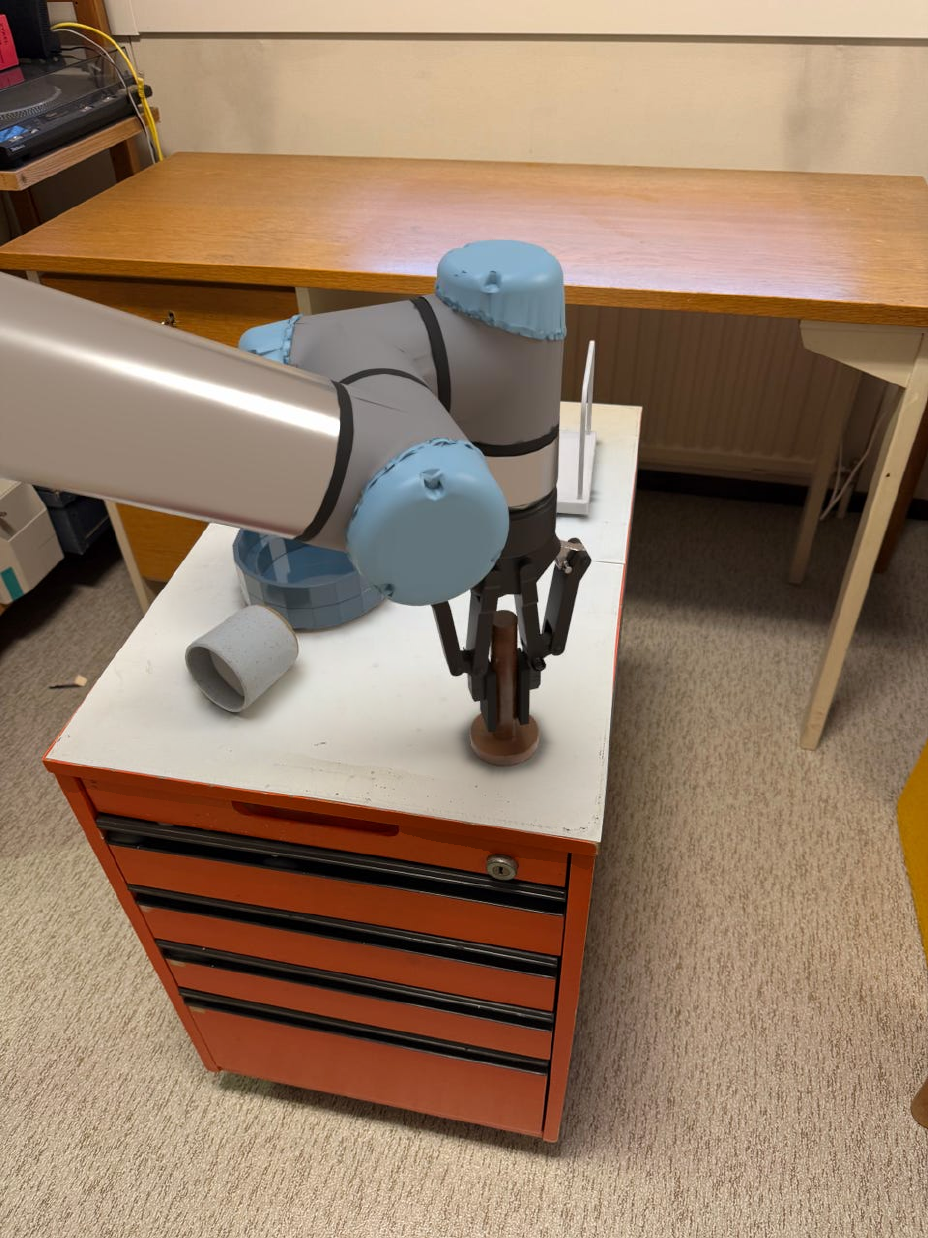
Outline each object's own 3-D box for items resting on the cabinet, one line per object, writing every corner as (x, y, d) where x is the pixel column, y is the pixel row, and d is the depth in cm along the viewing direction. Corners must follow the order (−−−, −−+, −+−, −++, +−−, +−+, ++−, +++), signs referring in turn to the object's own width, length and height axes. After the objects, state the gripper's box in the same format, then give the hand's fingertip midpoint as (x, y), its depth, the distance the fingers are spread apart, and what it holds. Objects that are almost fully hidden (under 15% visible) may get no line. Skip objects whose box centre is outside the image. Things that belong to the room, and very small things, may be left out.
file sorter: (596, 443, 116) (604, 328, 106) (587, 518, 103) (596, 396, 93) (410, 433, 120) (401, 321, 109) (379, 504, 107) (366, 385, 97)
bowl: (249, 646, 88) (237, 600, 84) (239, 553, 100) (228, 509, 96) (407, 616, 91) (402, 570, 87) (379, 529, 103) (374, 485, 99)
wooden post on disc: (480, 772, 75) (476, 651, 66) (463, 722, 80) (456, 601, 70) (547, 757, 76) (552, 635, 67) (526, 708, 81) (528, 588, 71)
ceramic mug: (310, 669, 85) (296, 608, 80) (254, 724, 80) (235, 663, 75) (229, 635, 90) (211, 576, 85) (170, 685, 85) (148, 625, 80)
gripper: (588, 440, 65) (573, 670, 80) (384, 473, 62) (409, 704, 77) (627, 494, 59) (603, 730, 74) (405, 533, 56) (427, 768, 72)
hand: (504, 716), depth 76 cm, fingers closed on wooden post on disc, 2 cm apart
